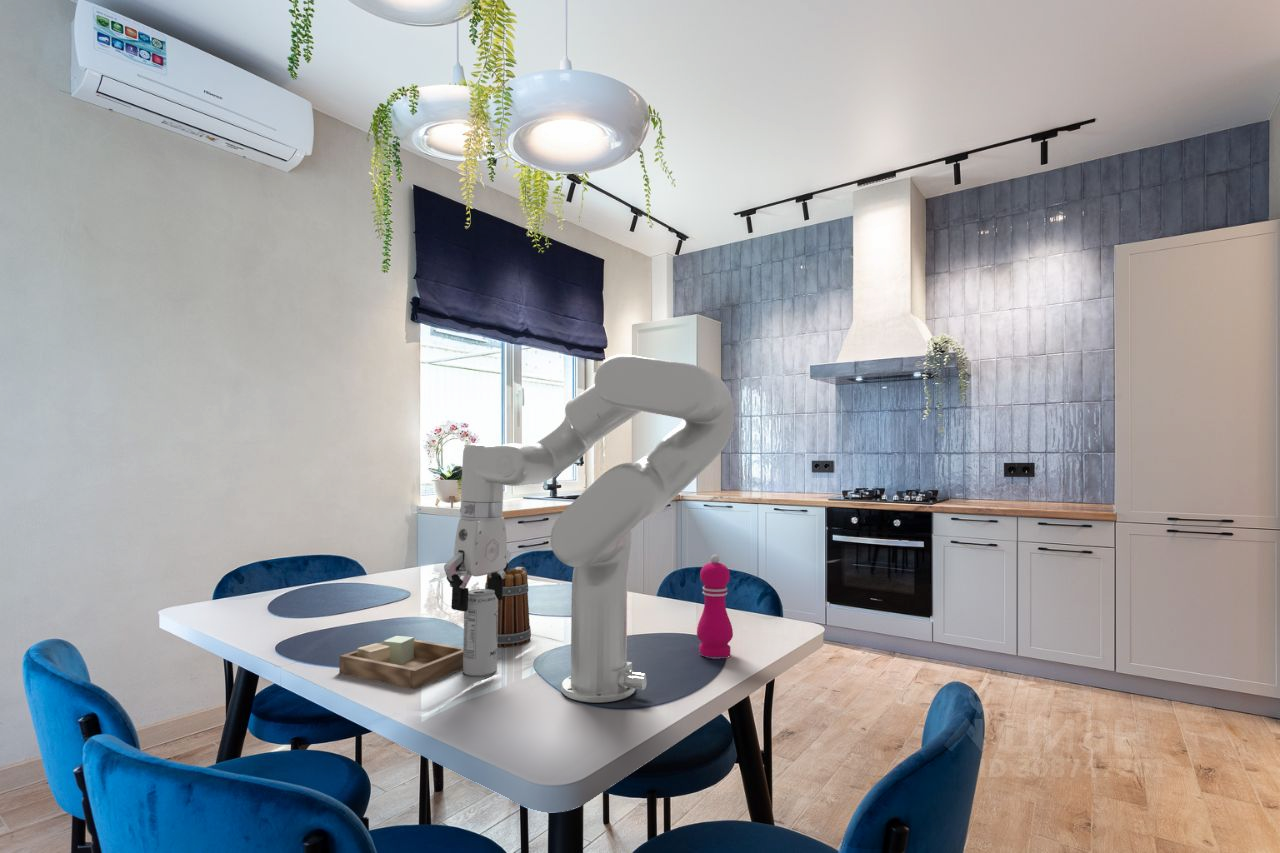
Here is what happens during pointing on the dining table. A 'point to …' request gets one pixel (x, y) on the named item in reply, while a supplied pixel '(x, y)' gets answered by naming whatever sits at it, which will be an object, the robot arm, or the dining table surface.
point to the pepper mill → (714, 611)
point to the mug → (513, 609)
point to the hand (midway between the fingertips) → (477, 604)
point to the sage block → (400, 649)
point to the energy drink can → (480, 633)
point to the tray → (407, 665)
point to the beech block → (375, 652)
